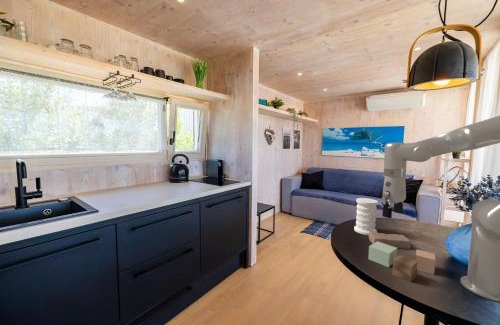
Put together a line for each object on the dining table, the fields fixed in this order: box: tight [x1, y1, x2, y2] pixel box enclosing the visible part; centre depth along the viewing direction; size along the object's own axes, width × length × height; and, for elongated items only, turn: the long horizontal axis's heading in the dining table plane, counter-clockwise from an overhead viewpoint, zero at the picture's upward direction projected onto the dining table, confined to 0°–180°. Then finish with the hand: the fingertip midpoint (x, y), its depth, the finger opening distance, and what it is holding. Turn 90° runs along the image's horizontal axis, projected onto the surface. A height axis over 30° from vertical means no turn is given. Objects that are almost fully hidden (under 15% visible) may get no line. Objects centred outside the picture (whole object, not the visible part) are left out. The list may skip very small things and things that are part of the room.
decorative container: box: [353, 197, 379, 236], centre depth 126 cm, size 12×12×18 cm
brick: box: [368, 232, 412, 250], centre depth 111 cm, size 17×8×5 cm, turn 80°
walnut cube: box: [391, 254, 418, 283], centre depth 85 cm, size 6×6×6 cm
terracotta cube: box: [415, 249, 436, 275], centre depth 89 cm, size 6×6×6 cm
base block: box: [367, 241, 398, 268], centre depth 96 cm, size 8×8×6 cm
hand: (392, 215), depth 90 cm, fingers open, 9 cm apart
